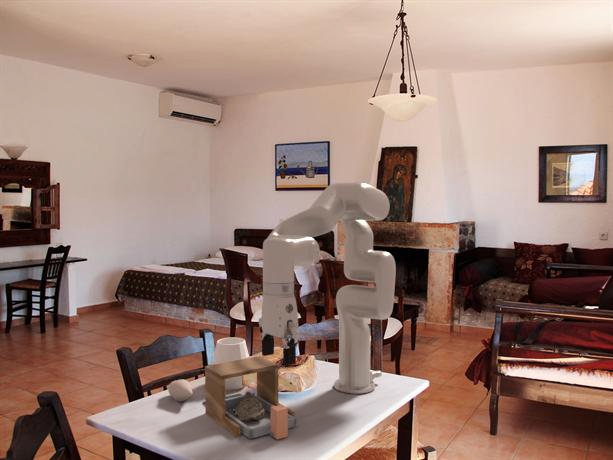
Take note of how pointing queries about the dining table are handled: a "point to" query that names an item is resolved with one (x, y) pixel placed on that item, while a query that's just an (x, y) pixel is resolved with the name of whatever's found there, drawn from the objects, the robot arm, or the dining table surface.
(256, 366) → the brown wooden arch frame
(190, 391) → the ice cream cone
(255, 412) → the rock sample
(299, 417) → the dining table surface
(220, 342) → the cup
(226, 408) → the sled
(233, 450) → the dining table surface
